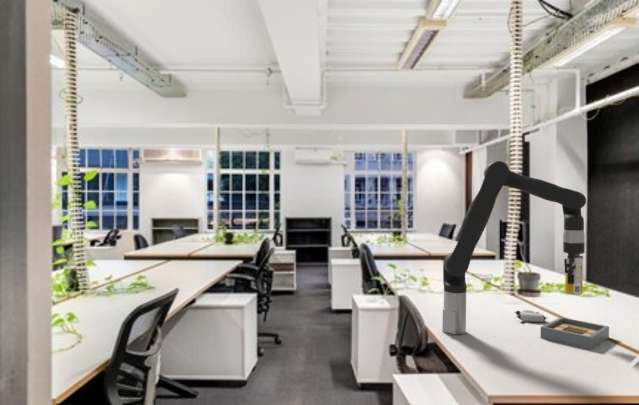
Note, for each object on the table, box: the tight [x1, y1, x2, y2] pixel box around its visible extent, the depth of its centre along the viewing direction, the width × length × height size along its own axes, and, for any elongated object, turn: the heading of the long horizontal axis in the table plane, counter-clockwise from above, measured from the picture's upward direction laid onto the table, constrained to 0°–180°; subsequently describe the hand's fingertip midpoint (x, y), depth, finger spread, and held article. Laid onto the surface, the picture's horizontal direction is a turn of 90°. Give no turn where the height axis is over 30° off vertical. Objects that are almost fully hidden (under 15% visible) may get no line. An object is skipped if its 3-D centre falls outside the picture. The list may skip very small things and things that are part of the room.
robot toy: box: [514, 309, 549, 324], centre depth 206 cm, size 12×4×15 cm
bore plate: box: [552, 323, 598, 336], centre depth 178 cm, size 14×14×3 cm
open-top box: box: [540, 317, 610, 351], centre depth 178 cm, size 22×18×6 cm
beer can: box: [564, 255, 584, 296], centre depth 178 cm, size 6×6×15 cm
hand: (573, 282), depth 178 cm, fingers closed on beer can, 6 cm apart
